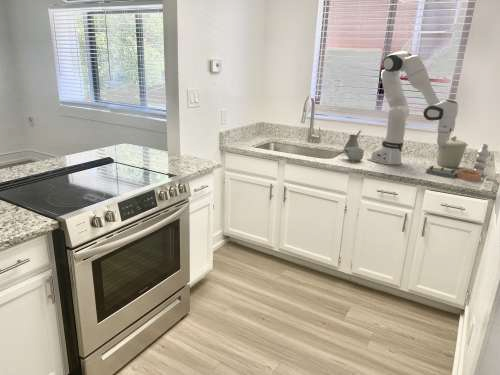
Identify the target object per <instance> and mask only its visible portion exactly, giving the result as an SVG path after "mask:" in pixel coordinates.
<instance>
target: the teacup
mask: <svg viewBox="0 0 500 375" xmlns="http://www.w3.org/2000/svg"><path fill="white" fill-rule="evenodd" d="M345 149H347V151H348V153H346V151H345ZM342 151H343V153H344V155H345V156H346V157H347V159H348V160H349V161H352V162H360V161H361V160H363V158H364V154H365V149H364V148H360V147H359V148H356V147H351V148H343V150H342Z"/></svg>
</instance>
